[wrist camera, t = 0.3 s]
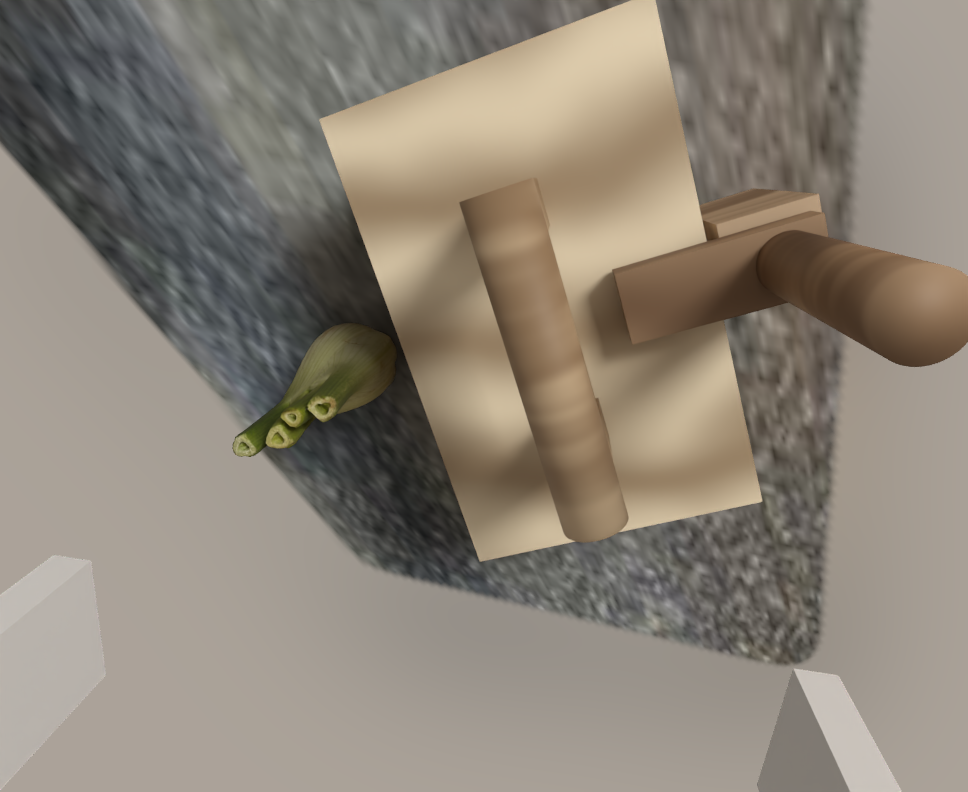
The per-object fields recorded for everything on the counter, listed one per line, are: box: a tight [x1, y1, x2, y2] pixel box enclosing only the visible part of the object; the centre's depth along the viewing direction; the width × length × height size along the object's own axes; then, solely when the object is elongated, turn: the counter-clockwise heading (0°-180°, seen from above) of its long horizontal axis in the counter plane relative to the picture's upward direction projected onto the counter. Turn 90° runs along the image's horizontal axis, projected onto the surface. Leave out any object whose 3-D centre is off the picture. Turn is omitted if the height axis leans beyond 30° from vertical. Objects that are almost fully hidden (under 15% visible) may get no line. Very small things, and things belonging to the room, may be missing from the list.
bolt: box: [612, 211, 968, 367], centre depth 22 cm, size 3×8×12 cm, turn 108°
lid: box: [319, 0, 762, 562], centre depth 26 cm, size 22×14×11 cm, turn 18°
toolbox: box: [699, 189, 822, 317], centre depth 33 cm, size 20×18×10 cm
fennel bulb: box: [233, 323, 397, 457], centre depth 35 cm, size 6×5×12 cm
